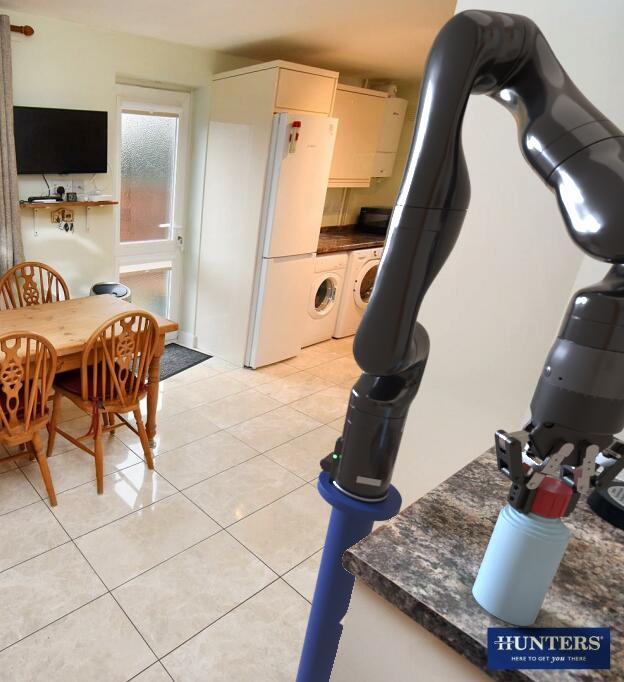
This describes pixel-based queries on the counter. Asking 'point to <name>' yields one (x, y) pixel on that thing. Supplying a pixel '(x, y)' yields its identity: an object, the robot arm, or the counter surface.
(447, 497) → the counter surface
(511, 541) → the bottle
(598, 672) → the counter surface
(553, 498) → the cap
